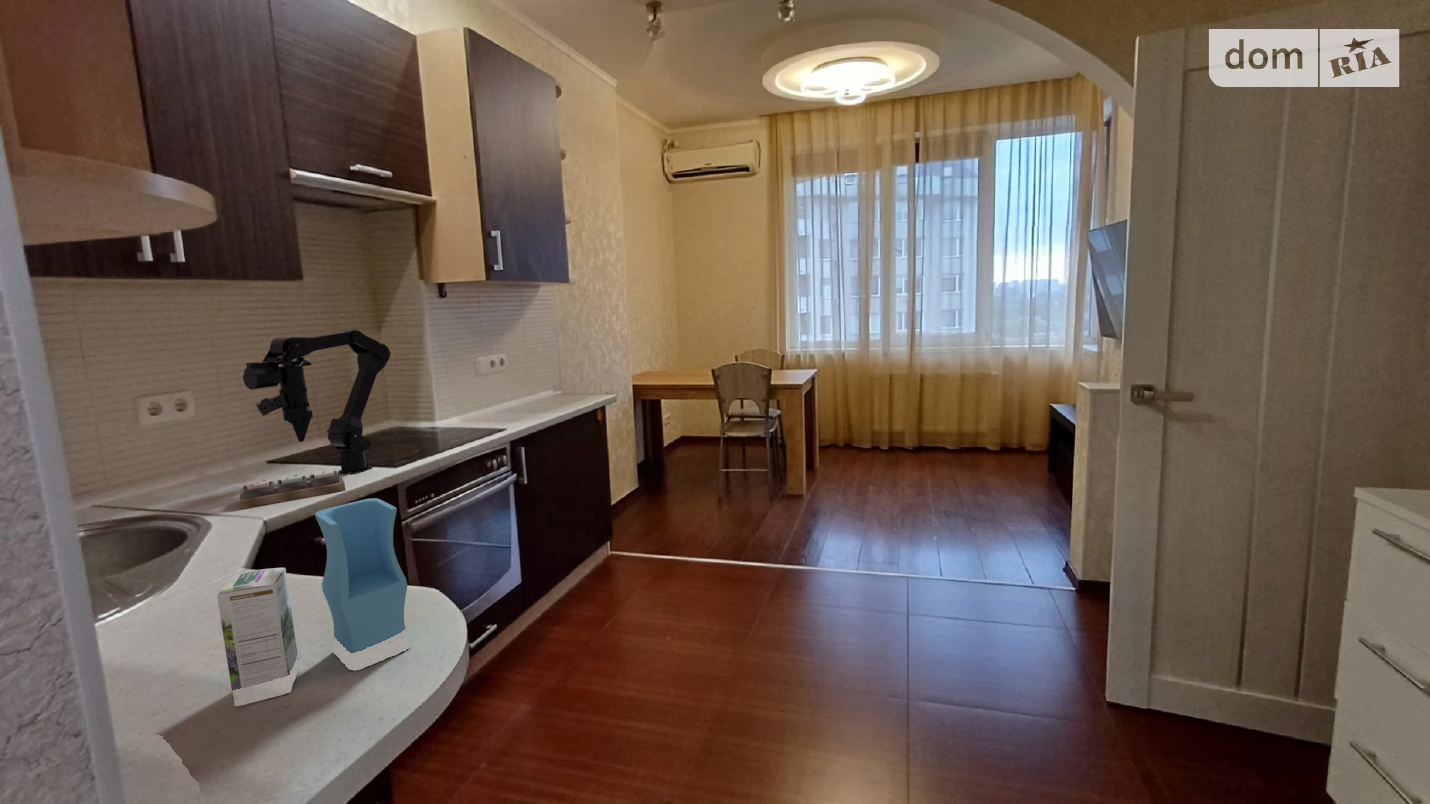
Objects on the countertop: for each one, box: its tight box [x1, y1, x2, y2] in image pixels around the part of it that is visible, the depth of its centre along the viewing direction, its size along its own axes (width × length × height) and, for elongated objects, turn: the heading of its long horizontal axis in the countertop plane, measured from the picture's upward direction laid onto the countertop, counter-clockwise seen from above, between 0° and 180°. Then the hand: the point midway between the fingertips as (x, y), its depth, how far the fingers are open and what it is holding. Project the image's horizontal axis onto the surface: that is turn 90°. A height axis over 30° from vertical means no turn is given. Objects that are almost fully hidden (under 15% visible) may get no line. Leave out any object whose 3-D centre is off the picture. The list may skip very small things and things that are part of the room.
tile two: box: [280, 473, 303, 484], centre depth 157 cm, size 4×4×2 cm
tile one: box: [313, 468, 335, 479], centre depth 161 cm, size 4×4×2 cm
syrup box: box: [216, 567, 299, 692], centre depth 75 cm, size 6×6×14 cm
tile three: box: [246, 478, 270, 490], centre depth 153 cm, size 4×4×2 cm
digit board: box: [238, 470, 346, 510], centre depth 158 cm, size 22×9×4 cm, turn 126°
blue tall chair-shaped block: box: [314, 497, 408, 653], centre depth 82 cm, size 8×8×20 cm
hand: (301, 441), depth 166 cm, fingers closed
